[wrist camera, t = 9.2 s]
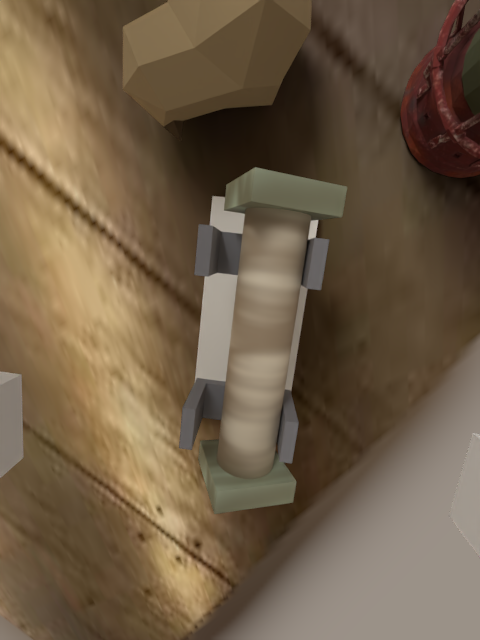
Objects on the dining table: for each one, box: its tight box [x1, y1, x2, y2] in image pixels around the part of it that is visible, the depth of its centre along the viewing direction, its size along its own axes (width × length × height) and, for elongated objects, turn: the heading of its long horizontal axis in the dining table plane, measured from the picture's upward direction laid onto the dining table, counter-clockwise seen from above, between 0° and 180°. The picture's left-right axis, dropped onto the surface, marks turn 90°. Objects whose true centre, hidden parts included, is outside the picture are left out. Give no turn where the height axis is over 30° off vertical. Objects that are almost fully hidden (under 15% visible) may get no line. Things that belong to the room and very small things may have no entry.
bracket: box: [179, 196, 329, 463], centre depth 25 cm, size 20×9×11 cm, turn 173°
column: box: [198, 167, 347, 514], centre depth 21 cm, size 20×5×5 cm, turn 173°
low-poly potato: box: [123, 0, 312, 141], centre depth 22 cm, size 15×11×12 cm
